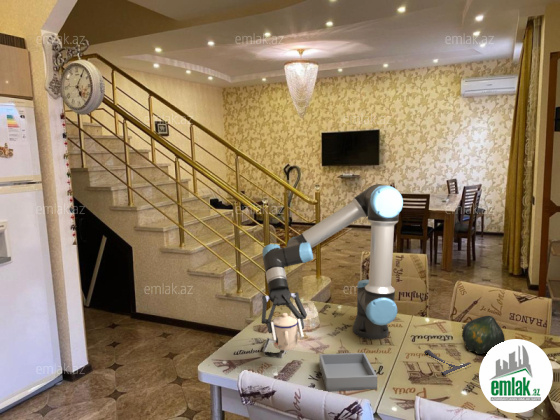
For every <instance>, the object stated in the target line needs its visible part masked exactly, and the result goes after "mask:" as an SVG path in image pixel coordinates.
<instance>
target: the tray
mask: <svg viewBox="0 0 560 420" xmlns="http://www.w3.org/2000/svg"><path fill="white" fill-rule="evenodd" d="M318 357H319V359H318V360H319V365H318V366H319V369H320V373H321V376H322V381H323V382H324V386H325V391H326V392H344V391H345V392H346V391H347V392H348V391H351V392H352V391H364V390H363V389H377V390H378V375H377V373H376V371H375V369H374V367H373V366H372V364H371V362H370V360H369V358H368V357H367V355H366V353H365V352H351V353H350V352H348V353H345V352H344V353H320V354H319V356H318Z"/></svg>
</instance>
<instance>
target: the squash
mask: <svg viewBox="0 0 560 420" xmlns="http://www.w3.org/2000/svg"><path fill="white" fill-rule="evenodd" d="M462 339H463V342H464V344H465V348H466V349H467V350H468V351H469V350H470V352H471V351H476V352H475V353H476V354H478V355H483V354H486V353H487V352H488V351H489V350H490V349H491V348H492V347H494V346H495V345H497V344H499V343H501V342H504V341H505V342H506V340H505V334H504V331H503V329H502V328H501V326H500V325H499V323H498V322H497V320H496V318H495V317H494V316H493V315H484V316H480V317H477V318H474V319H472V320H470V321H468V322H466V324H465V325H464V327H463V329H462ZM484 352H485V353H484Z"/></svg>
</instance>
